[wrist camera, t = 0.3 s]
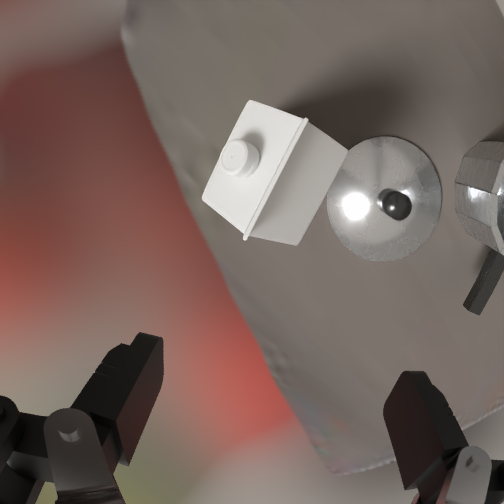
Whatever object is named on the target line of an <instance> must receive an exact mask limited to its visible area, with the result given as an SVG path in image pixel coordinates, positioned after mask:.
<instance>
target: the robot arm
mask: <svg viewBox="0 0 504 504" xmlns="http://www.w3.org/2000/svg"><path fill="white" fill-rule="evenodd" d="M163 375H164V363H163V338H162V337H158V336H154V335H150V334H146V333H141V332H139V333H138V335H137V336H136V337H135V339H134V340H133V342H132V343H131V345H130V346H129V345H126V344H122V343H121V344H120V345H118V346H116V347H115V348H113V349H112V350H110V351H109V352H108V353H107V355H106V356H105V358H104V359H103V360H102V362H101V364H100V365H99V366H98V368H97V369H96V371H95V373H93V375H92V376H91V378H90V379H89V381H88V382H87V384H86V385H85V387H84V388H83V389H82V391H81V393H80V394H79V395H78V397H77V398H76V400H75V401H74V403H73V404H72V406H71V407H70V408H63V409H59V410H56V411H55V412H53V413H51V414H50V415H49V416H38V415H33V414H27V413H22V412H19V411H18V409H17V407H16V405H15V404H14V402H13V401H12V400H11V399H9V398H7V397H5V396H0V504H35V503H36V501H37V498H38V496H39V494H40V492H41V489H42V487H43V485H44V483H45V481H47V482H52V483H54V484H55V488H56V492H57V496H58V499H57V500H56V501H55V504H126V503H125V501H124V499H123V497H122V494H121V492H120V490H119V487H118V485H117V482H116V480H115V478H114V475H113V473H114V471H115V468H116V466H117V464H118V463H120V464H123V465H126V466H129V464H130V462H131V459H132V457H133V454H134V452H135V449H136V446H137V444H138V442H139V439H140V436H141V435H142V432H143V430H144V427H145V425H146V423H147V420H148V418H149V415H150V413H151V411H152V408H153V406H154V403H155V401H156V398H157V396H158V394H159V392H160V389H161V386H162V381H163ZM448 406H449V404H448V402H447V401H446V399H445V397H444V395H443V394H442V393H441V392H440V391H439V390H438V389H437V388H436V387H435V386H434V385H432V383H431V381H430V379H429V378H428V376H427V374H426V373H425V372H424V371H404V372H402V374H401V375H400V377H399V379H398V380H397V382H396V384H395V386H394V388H393V389H392V391H391V393H390V395H389V396H388V398H387V400H386V402H385V404H384V409H383V416H384V420H385V423H386V427H387V430H388V433H389V436H390V440H391V443H392V446H393V450H394V453H395V457H396V460H397V464H398V467H399V471H400V474H401V478H402V482H403V485H404V489H405V490H409V489H415V488H418V491H419V493H418V494H416V495H415V497H414V498H413V501H412V503H411V504H501V503H502V502H503V501H504V460H503V461H502V460H491V459H490V457H489V455H488V454H487V453H486V452H485V451H484V450H483V449H481V448H479V447H477V446H469V445H468V443H467V441H466V439H465V436H464V434H463V432H462V430H461V428H460V426H459V424H458V422H457V420H456V418H455V416H453V412H452V410H451V408H450V407H448Z"/></svg>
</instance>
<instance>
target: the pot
mask: <svg viewBox="0 0 504 504" xmlns="http://www.w3.org/2000/svg"><path fill="white" fill-rule="evenodd" d="M455 182H456V183H455V207H456V213H457V215H458V217H459V219H460V221H461V223H462V225H463V228H464V230H465V232H466V233H467V234H469V235H470V236H472V237H474V238H475V239H477V240H478V241H480V242H482V243H483V244H485V245H487V246H488V247H490V248H491V250H490V252H489V255H488V257H487V259H486V261H485V263H484V265H483V267H482V269H481V271H480V273H479V275H478V277H477V279H476V281H475V283H474V285H473V287H472V289H471V291H470V293H469V294H468V296H467V298H466V300H465V302H464V303H463V306H464V307H465V308H466V309H467V310H468V311H470V312H472V313H475V314H477V315H480V314H481V312H482V310H483V308H484V307H485V305H486V303H487V301H488V300H489V298H490V296H491V294H492V292H493V290H494V288H495V286H496V284H497V282H498V281H499V279H500V276H501V274H502V272H503V270H504V142H499V141H480V142H479V143H478V144H476V145H475V146H474V147H473V148H472V149H471V150H470V151H469V152H468V153H466V154H465V155H464V157H463V159H462V162H461V165H460V168H459V171H458V174H457V177H456V180H455Z"/></svg>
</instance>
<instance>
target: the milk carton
mask: <svg viewBox="0 0 504 504" xmlns="http://www.w3.org/2000/svg"><path fill="white" fill-rule="evenodd" d="M347 153H348V150H347V149H346V148H344V147H343V146H342V145H340V144H339V143H338V142H336V141H335V140H334V139H332V138H331V137H329V136H328V135H327V134H325V133H324V132H322V131H321V130H319V129H318V128H317V127H315V126H314V125H312V124H311V123H309V122H308V118H306V117H305V118H304V119H302V118H300V117H297V116H294V115H292V114H289V113H286V112H284V111H281V110H278V109H275V108H273V107H270V106H267V105H264V104H261V103H258V102H255V101H252V100H249V101H248V102H247V104H246V106H245V108H244V109H243V111H242V113H241V115H240V117H239V119H238V121H237V123H236V125H235V127H234V129H233V131H232V133H231V135H230V137H229V139H228V141H227V143H226V145H225V146H224V148H223V150H222V152H221V155H220V158H219V160H218V162H217V164H216V166H215V168H214V170H213V173H212V175H211V177H210V179H209V181H208V184H207V186H206V188H205V190H204V193H203V196H202V200H203V201H204V202H206V203H207V204H208V205H209V206H210V207H212V208H213V209H214V210H215V211H217V212H218V213H219V214H220V215H222V216H223V217H224V218H225V219H226V220H228V221H229V222H230V223H231V224H233V225H234V226H235V227H236V228H237V229H239V230H240V231H241V232H242V233H244V236H243V240H245V241H246V240H247V238H248V236H253V237H258V238H262V239H267V240H272V241H277V242H282V243H286V244H291V245H296V246H297V245H298V244H299V242H300V240H301V239H302V237H303V235H304V233H305V232H306V230H307V228H308V226H309V224H310V223H311V221H312V219H313V217H314V215H315V214H316V212H317V210H318V208H319V206H320V204H321V203H322V201H323V199H324V197H325V195H326V193H327V192H328V190H329V188H330V186H331V184H332V182H333V180H334V179H335V177H336V175H337V173H338V171H339V169H340V167H341V165H342V164H343V162H344V160H345V158H346V156H347Z"/></svg>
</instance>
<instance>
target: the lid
mask: <svg viewBox="0 0 504 504" xmlns="http://www.w3.org/2000/svg"><path fill="white" fill-rule="evenodd" d="M326 204H327V212H328V217H329V220H330V223H331V226H332V228H333V230H334V232H335V234H336V235H337V237H338V238H339V240H340V241H341V242H342V243H343V244H344V245H345V246H346V247H347V248H348V249H349V250H350V251H352V252H353V253H355V254H356V255H358V256H360V257H362V258H365V259H368V260H373V261H384V262H385V261H393V260H397V259H400V258H403V257H405V256H407V255H409V254H411V253H412V252H414V251H415V250H417V249H418V248H419V247H420V246H421V245H422V244H423V243H424V242H425V241H426V240H427V239H428V237H429V236H430V234H431V233H432V231H433V229H434V227H435V225H436V223H437V220H438V218H439V213H440V209H441V186H440V182H439V178H438V175H437V173H436V170H435V168H434V166H433V164H432V163H431V161H430V160H429V159H428V157H427V156H426V155H425V154H424V153H423V152H422V151H421V150H420V149H419V148H417V147H416V146H414V145H413V144H411V143H409V142H407V141H405V140H402V139H399V138H395V137H375V138H371V139H367V140H364V141H362V142H360V143H358V144H356V145H355V146H353V147H352V148H351V149H349V150H348V153H347V156H346V158H345V160H344V162H343V164H342V165H341V167H340V169H339V171H338V173H337V175H336V177H335V179H334V180H333V182H332V184H331V186H330V188H329V190H328V192H327V197H326Z"/></svg>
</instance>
